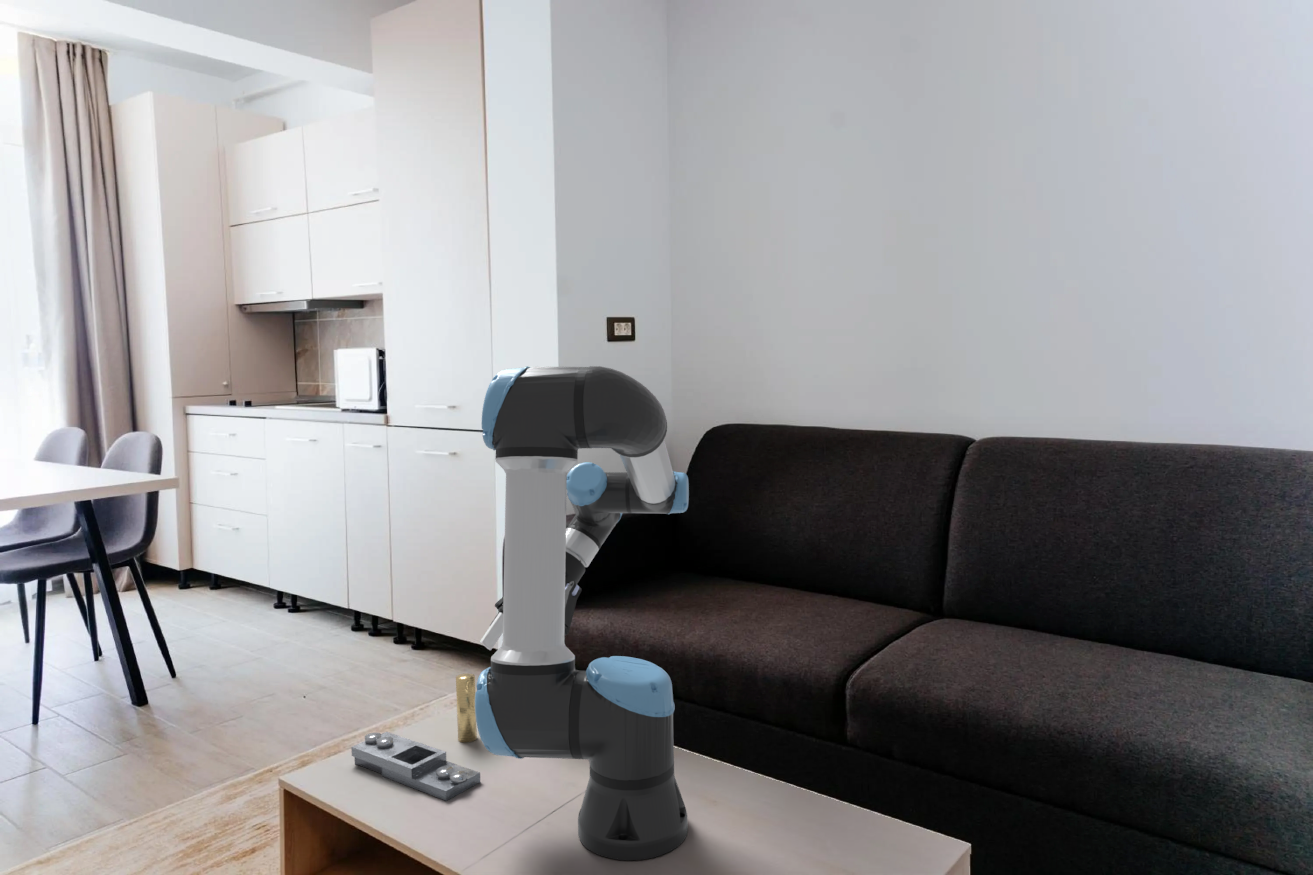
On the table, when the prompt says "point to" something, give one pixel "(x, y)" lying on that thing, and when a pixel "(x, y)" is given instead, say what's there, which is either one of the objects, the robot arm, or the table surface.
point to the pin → (466, 708)
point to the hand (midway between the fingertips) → (505, 654)
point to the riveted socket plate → (414, 765)
